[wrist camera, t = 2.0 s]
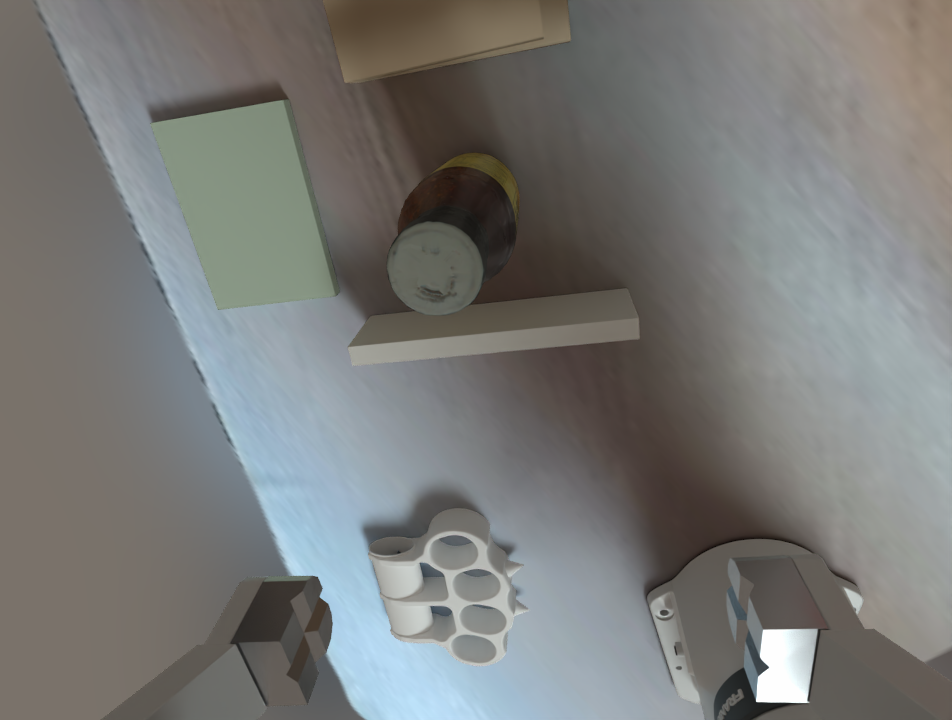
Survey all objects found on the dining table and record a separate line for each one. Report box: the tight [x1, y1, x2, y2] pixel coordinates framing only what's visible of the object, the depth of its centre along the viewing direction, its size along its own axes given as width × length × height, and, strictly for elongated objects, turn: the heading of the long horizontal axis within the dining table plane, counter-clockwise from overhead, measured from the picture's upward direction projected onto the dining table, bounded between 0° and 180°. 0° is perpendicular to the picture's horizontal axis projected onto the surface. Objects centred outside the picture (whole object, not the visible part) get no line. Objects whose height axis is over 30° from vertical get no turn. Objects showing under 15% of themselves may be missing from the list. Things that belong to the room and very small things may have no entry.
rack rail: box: [348, 288, 640, 366], centre depth 42 cm, size 2×20×6 cm, turn 99°
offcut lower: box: [357, 0, 571, 83], centre depth 36 cm, size 5×14×2 cm, turn 100°
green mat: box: [150, 99, 340, 310], centre depth 43 cm, size 14×10×1 cm
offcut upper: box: [323, 0, 544, 83], centre depth 34 cm, size 5×12×2 cm, turn 101°
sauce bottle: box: [387, 153, 519, 316], centre depth 32 cm, size 7×6×20 cm
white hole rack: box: [368, 508, 530, 666], centre depth 57 cm, size 3×18×15 cm
